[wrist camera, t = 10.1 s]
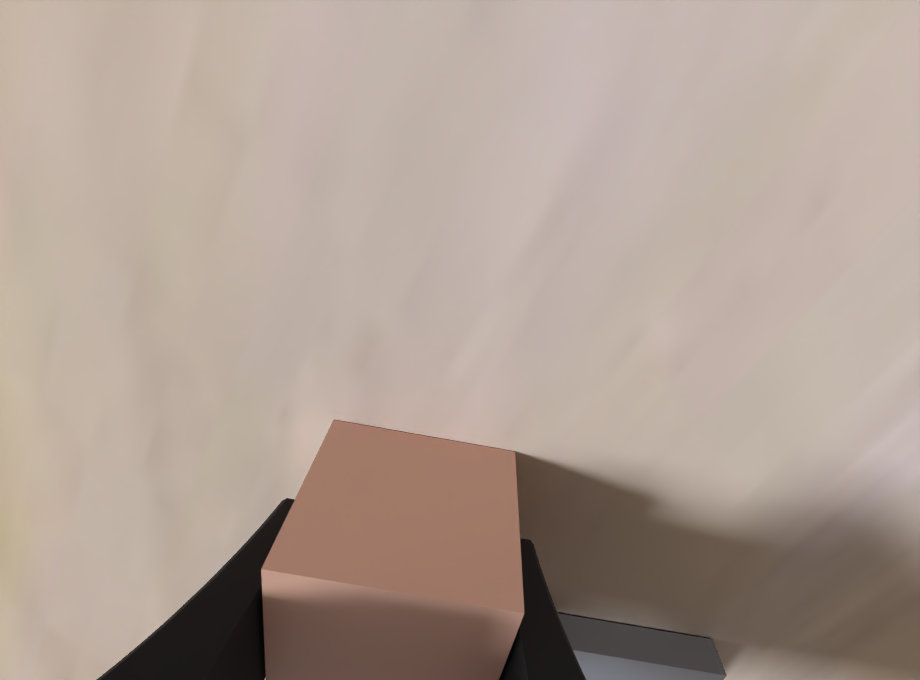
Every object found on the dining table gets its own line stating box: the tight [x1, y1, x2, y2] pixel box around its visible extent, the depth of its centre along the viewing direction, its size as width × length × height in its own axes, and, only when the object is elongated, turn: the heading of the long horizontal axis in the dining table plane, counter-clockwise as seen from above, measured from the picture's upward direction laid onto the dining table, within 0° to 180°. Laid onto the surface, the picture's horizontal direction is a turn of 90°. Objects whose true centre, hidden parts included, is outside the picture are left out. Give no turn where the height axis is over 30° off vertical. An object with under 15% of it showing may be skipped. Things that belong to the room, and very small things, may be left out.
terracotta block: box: [261, 420, 524, 680], centre depth 11 cm, size 4×4×4 cm
